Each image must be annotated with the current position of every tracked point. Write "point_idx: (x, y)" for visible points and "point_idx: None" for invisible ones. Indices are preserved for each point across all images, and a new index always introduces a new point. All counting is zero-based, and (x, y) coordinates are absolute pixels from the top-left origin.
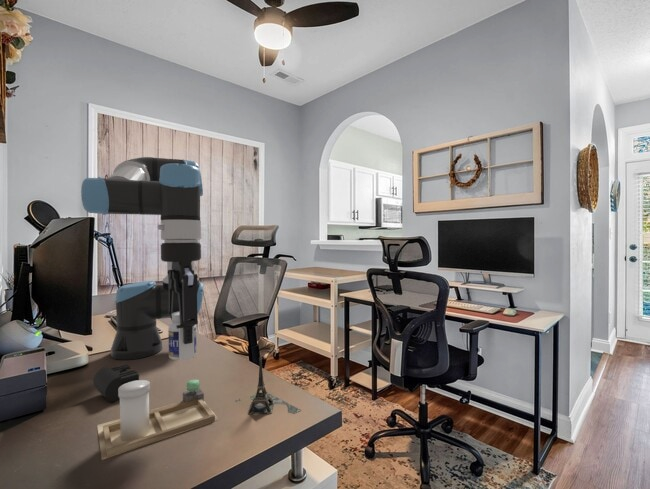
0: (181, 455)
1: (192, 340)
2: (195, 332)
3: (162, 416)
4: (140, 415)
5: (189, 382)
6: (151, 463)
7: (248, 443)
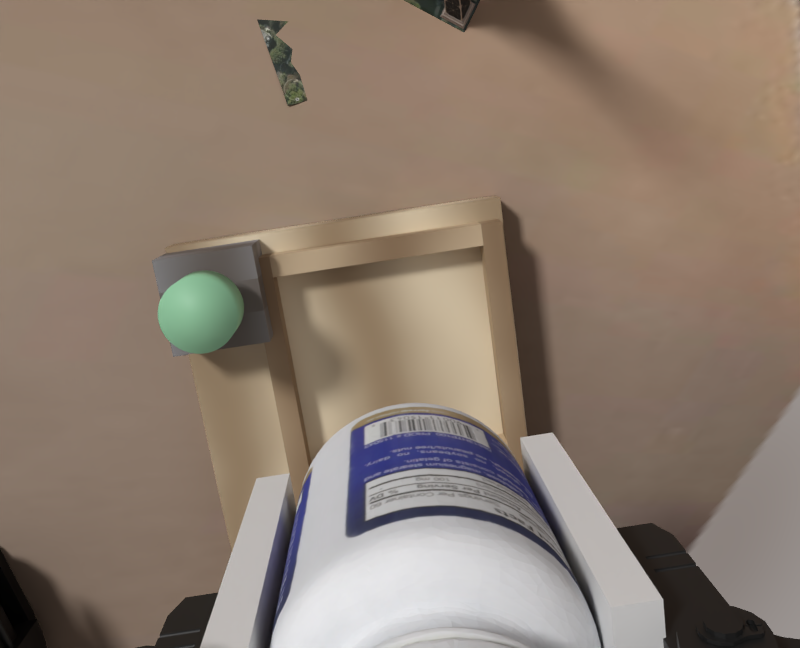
0: (635, 378)
1: (672, 535)
2: (505, 505)
3: (321, 446)
4: None
5: (195, 337)
6: (621, 481)
7: (716, 103)
